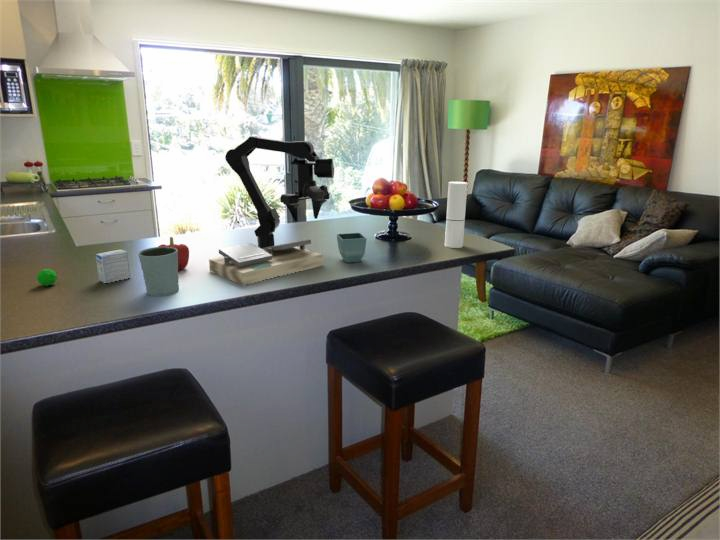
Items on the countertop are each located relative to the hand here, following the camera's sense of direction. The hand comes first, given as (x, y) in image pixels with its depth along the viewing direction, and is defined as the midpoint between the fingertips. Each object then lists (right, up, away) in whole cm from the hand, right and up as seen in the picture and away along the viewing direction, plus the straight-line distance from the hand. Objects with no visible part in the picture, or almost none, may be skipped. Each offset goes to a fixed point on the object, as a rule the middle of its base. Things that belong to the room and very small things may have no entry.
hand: (306, 220), depth 179 cm
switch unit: (-11, -18, -17) cm, 27 cm away
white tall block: (+57, -9, +15) cm, 60 cm away
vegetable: (-41, -18, -19) cm, 49 cm away
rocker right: (-5, -10, -14) cm, 18 cm away
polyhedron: (-72, -23, -36) cm, 84 cm away
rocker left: (-16, -13, -25) cm, 33 cm away
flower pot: (+17, -15, -7) cm, 24 cm away
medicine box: (-55, -22, -31) cm, 66 cm away
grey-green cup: (-36, -25, -40) cm, 60 cm away
